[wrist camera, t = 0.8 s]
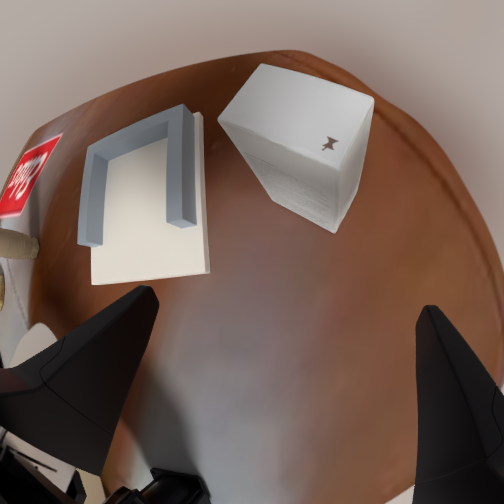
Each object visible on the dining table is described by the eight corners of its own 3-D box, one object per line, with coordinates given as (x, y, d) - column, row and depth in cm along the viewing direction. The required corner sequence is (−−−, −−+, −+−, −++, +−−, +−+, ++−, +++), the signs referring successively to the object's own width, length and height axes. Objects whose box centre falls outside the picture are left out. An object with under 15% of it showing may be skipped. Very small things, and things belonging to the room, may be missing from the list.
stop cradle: (210, 272, 23) (190, 270, 20) (98, 284, 27) (74, 283, 23) (203, 116, 26) (188, 98, 22) (104, 155, 29) (85, 144, 26)
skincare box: (358, 190, 21) (380, 98, 9) (334, 235, 21) (341, 175, 9) (294, 158, 22) (259, 59, 11) (269, 200, 23) (211, 121, 11)
